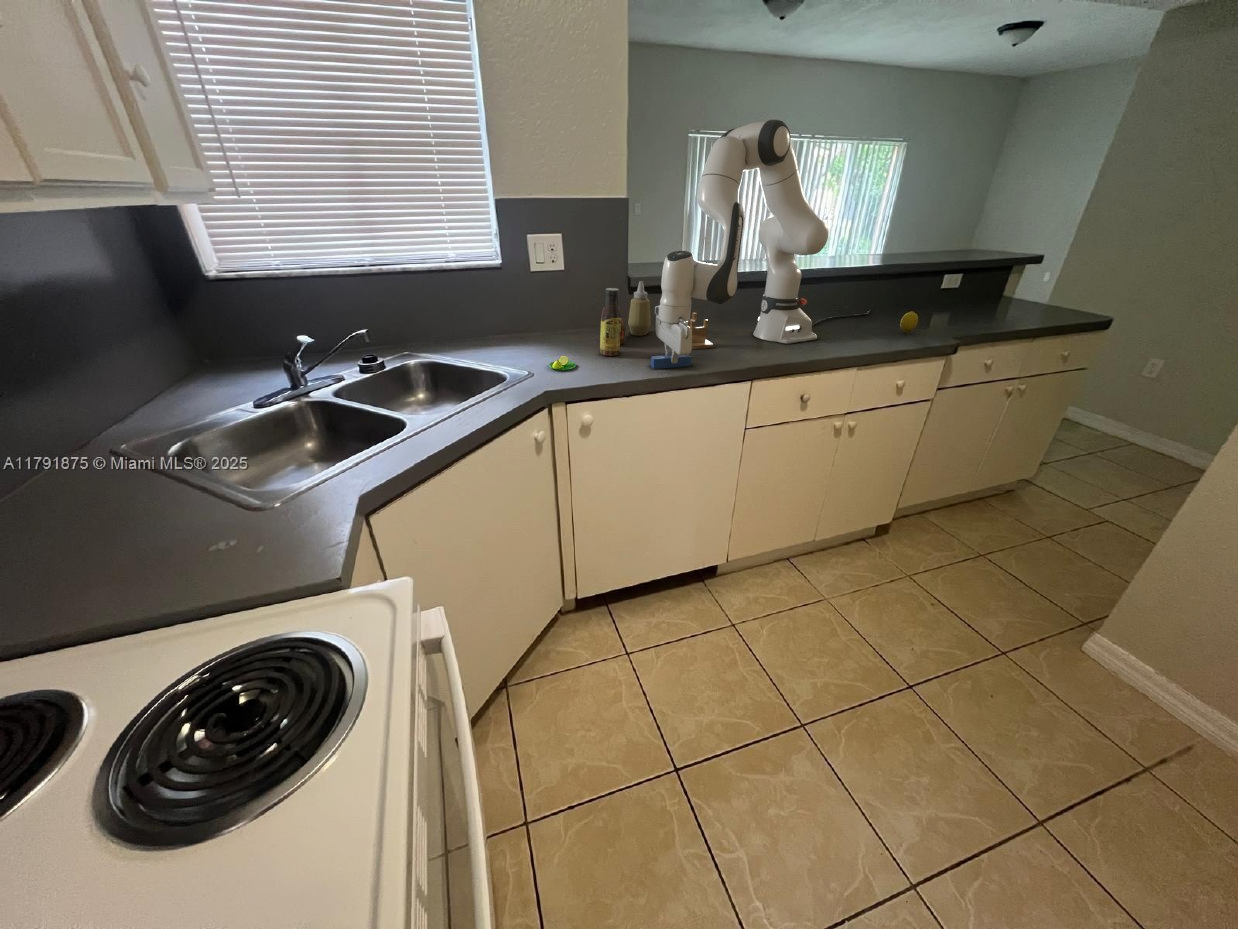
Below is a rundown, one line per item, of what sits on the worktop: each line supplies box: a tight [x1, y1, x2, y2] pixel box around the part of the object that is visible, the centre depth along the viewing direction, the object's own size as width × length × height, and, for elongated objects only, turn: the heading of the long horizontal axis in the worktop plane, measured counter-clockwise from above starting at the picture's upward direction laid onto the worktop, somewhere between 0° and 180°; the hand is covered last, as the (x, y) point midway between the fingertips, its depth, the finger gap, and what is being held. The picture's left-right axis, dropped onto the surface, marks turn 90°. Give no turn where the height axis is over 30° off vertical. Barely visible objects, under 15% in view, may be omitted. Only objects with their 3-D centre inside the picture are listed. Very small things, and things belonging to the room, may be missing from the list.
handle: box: [650, 354, 693, 370], centre depth 145 cm, size 12×3×3 cm, turn 106°
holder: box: [688, 312, 715, 350], centre depth 166 cm, size 16×9×9 cm, turn 16°
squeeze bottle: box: [627, 280, 652, 337], centre depth 171 cm, size 8×8×18 cm
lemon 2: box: [548, 355, 577, 371], centre depth 143 cm, size 8×8×3 cm
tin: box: [620, 318, 627, 345], centre depth 165 cm, size 15×3×8 cm, turn 20°
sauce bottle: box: [599, 287, 622, 357], centre depth 150 cm, size 7×6×20 cm
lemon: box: [899, 311, 919, 334], centre depth 181 cm, size 6×6×8 cm
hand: (671, 360), depth 145 cm, fingers closed on handle, 2 cm apart
